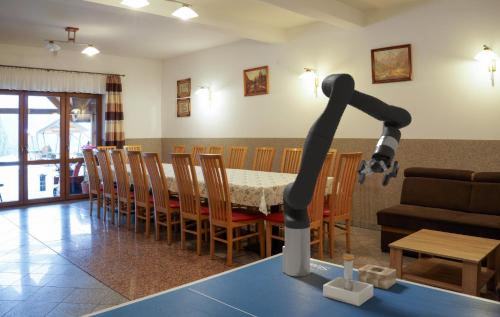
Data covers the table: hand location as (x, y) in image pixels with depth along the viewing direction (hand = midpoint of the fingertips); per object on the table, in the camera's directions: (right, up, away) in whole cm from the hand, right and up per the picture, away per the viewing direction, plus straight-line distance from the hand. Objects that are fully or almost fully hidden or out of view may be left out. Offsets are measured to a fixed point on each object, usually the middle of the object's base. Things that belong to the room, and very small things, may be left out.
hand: (372, 184), depth 148 cm
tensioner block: (0, -33, -7) cm, 34 cm away
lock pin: (-13, -33, -18) cm, 40 cm away
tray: (-13, -34, -18) cm, 40 cm away
